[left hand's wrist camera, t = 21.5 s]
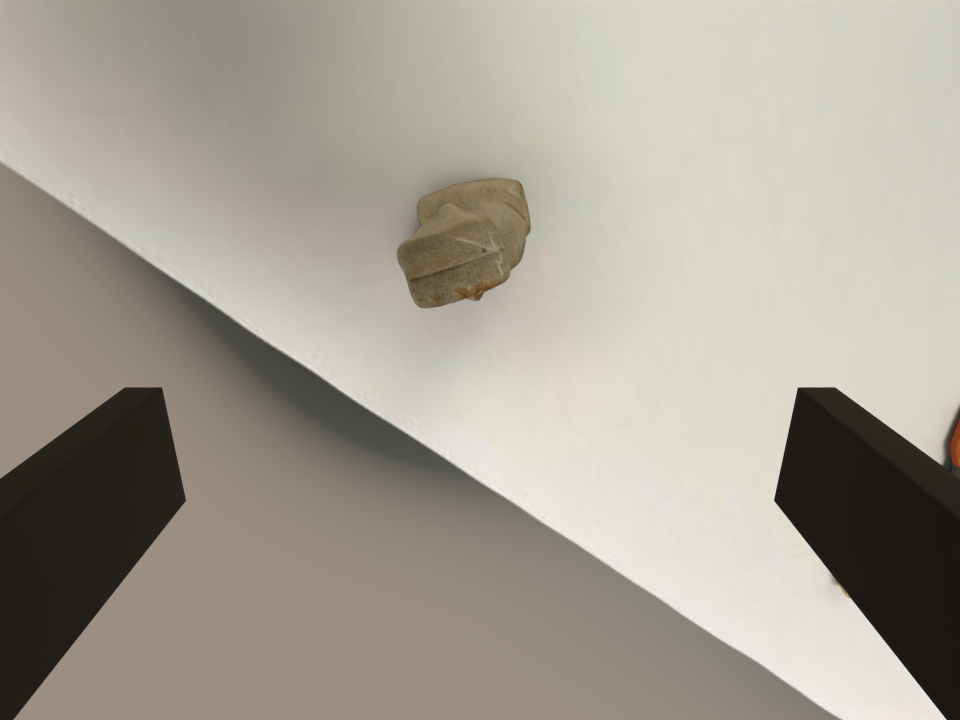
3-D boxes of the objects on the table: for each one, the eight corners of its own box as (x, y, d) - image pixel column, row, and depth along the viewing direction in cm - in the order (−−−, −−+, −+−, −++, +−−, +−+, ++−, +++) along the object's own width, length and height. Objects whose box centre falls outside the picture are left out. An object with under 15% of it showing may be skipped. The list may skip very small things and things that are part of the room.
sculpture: (411, 184, 40) (375, 214, 26) (516, 158, 40) (535, 175, 26) (433, 267, 42) (410, 335, 28) (532, 244, 42) (559, 302, 28)
